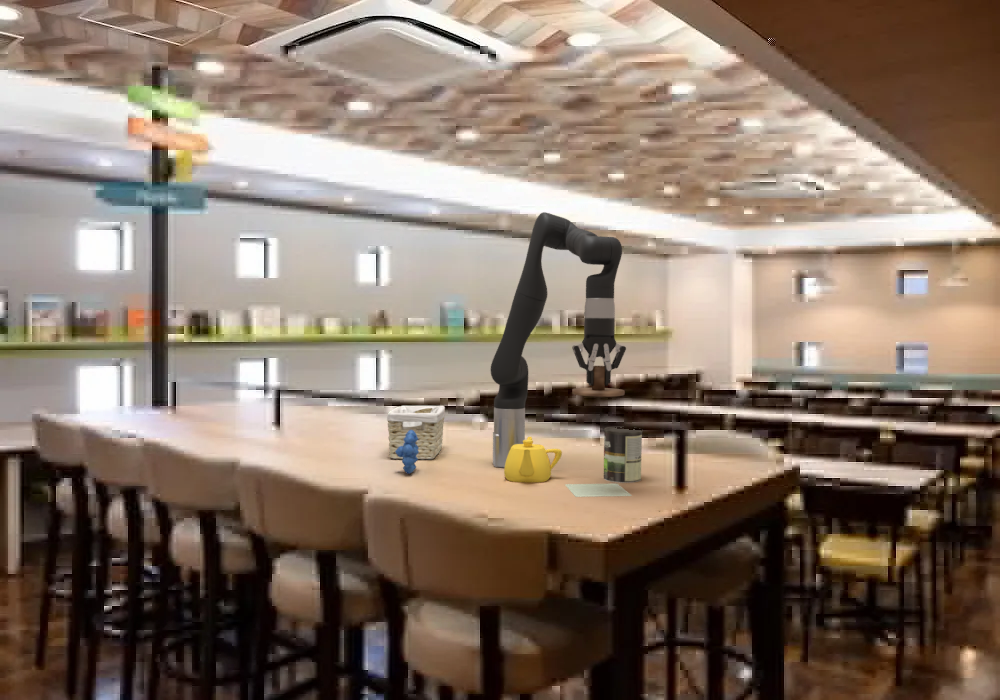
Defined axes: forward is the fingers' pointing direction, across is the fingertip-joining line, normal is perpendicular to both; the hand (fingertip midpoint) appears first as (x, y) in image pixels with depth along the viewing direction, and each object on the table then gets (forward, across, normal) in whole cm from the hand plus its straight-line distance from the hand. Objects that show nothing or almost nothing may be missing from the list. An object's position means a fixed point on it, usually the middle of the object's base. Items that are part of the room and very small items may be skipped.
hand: (598, 385), depth 191 cm
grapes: (+27, -48, +28) cm, 62 cm away
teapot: (+27, -14, +16) cm, 35 cm away
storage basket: (+28, -45, +58) cm, 79 cm away
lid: (+2, 0, 0) cm, 2 cm away
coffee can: (+27, +10, +13) cm, 32 cm away
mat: (+27, 0, 0) cm, 27 cm away
